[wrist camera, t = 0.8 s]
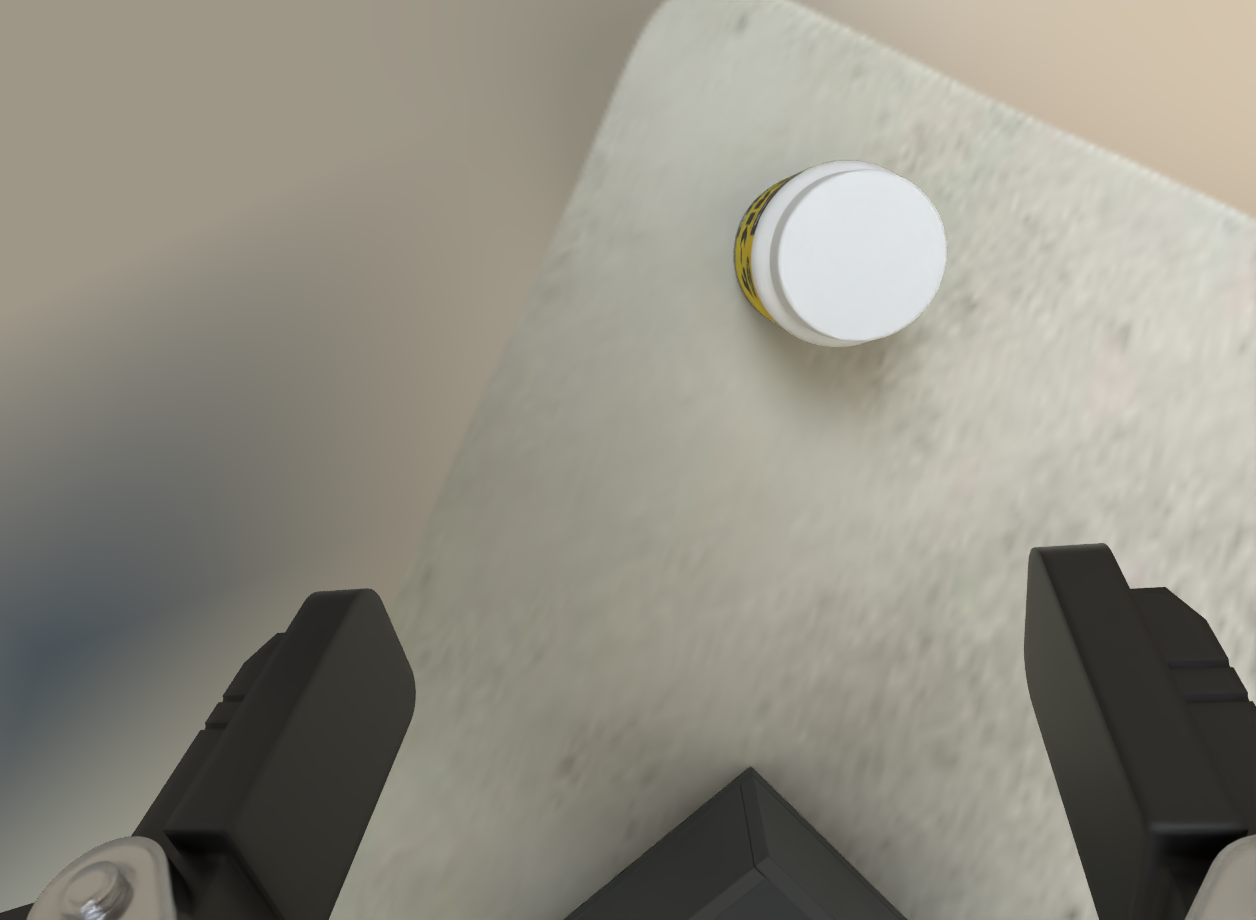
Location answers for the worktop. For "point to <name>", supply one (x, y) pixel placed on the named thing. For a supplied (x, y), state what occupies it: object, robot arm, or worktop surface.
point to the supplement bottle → (841, 253)
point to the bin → (740, 868)
